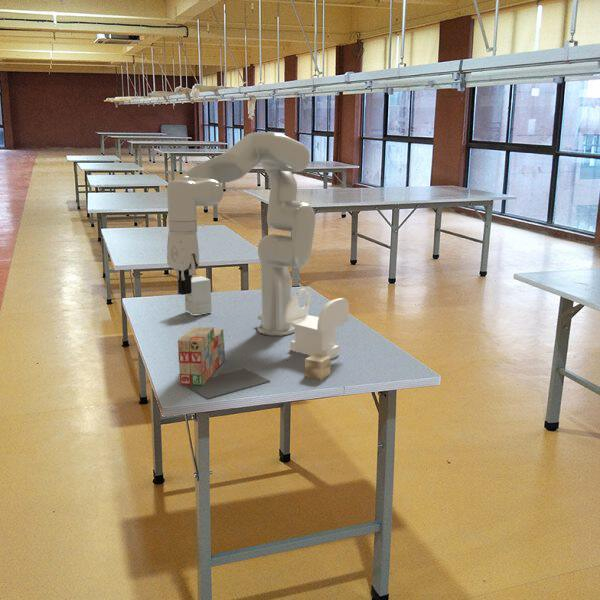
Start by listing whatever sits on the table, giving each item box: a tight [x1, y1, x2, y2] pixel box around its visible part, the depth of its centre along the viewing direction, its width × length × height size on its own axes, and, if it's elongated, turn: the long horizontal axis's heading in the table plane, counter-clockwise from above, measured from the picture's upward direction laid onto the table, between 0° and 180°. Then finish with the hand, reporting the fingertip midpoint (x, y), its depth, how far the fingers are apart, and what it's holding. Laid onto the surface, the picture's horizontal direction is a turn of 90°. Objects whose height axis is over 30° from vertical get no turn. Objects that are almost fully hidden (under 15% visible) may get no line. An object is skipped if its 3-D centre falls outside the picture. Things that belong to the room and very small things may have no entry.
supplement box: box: [184, 275, 213, 314], centre depth 244 cm, size 7×7×13 cm
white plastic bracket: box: [284, 288, 350, 360], centre depth 201 cm, size 14×13×18 cm
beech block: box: [304, 354, 331, 380], centre depth 184 cm, size 5×5×5 cm
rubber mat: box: [183, 368, 271, 400], centre depth 179 cm, size 12×19×1 cm, turn 129°
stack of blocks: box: [177, 326, 226, 386], centre depth 186 cm, size 21×6×12 cm, turn 171°
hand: (185, 293), depth 188 cm, fingers closed
